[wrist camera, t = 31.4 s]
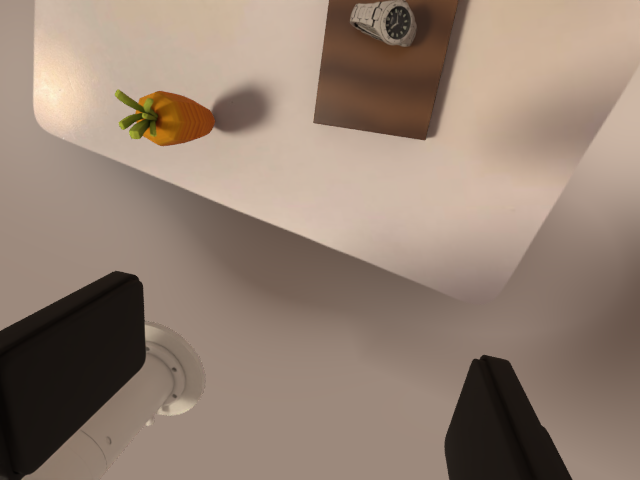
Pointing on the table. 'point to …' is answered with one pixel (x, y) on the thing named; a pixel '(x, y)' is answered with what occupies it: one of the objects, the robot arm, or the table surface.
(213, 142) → the table surface
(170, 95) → the carrot
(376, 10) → the wristwatch
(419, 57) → the cutting board
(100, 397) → the robot arm
